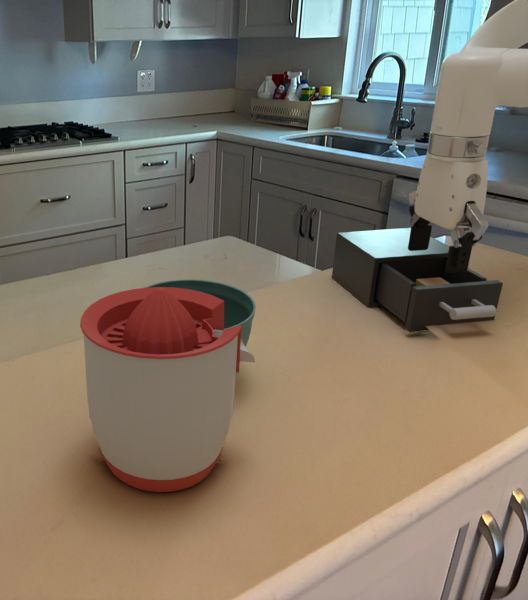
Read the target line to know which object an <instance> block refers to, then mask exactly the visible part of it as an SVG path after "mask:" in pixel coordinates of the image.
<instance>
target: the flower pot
mask: <svg viewBox="0 0 528 600" xmlns="http://www.w3.org/2000/svg"><path fill="white" fill-rule="evenodd" d="M148 287H173V288H183V289H190V290H195V291H200V292H203V293H207V294H210V295H213V296H215V297H217V298H219V299H221V300H223V301H224V330H225V329H227V328H231V327H235V326H238V325H241V327H242V328H241V339H242V341H243V343H244V345H245V347H246V348H247V345H248V343H249V340H250V336H251V332H252V328H253V327H252V326H253V321H254V317H255V313H256V309H257V304H256V302H255V300H254V299H253V297H252V296H251V295H250V294H248V293H247V292H245V291H244V290H243V289H241V288H239V287H236V286H233V285H231V284H227V283H223V282H220V281H213V280H209V279H208V280H207V279H197V278H195V279H193V278H192V279H191V278H188V279H185V278H183V279H172V280H171V279H170V280H164V281H160V282H155V283H152V284H149V285H146V286H144V287H143V288H148Z"/></svg>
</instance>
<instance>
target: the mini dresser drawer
mask: <svg viewBox="0 0 528 600" xmlns="http://www.w3.org/2000/svg"><path fill="white" fill-rule="evenodd" d="M446 262H447V258H434V259H420V260H407V261H393V262H380V263H379V267H378V273H377V280H376V287H375V293H374V299H376V300H377V301H378V302H379V303H381V304H382V305H383V306H382V307H385V309H387V310H388V311H389V312H390V313H392V315H394V316H396V317H397V318H398V319H399V320H401V321H402V322H403V323H404V324H405V325H404V326H405V328H404V330H406V331H407V332H409V333H414V332H427V331H430V329H429V328H428V327H432V326H443V325H445V326H446V325H455V324H456V325H457V324H467V323H477V322H478V323H480V322H489V321H495V318H496V314H497V309H498V306H499V302H500V297H501V293H502V289H503V285H504V283H503V282H502V281H501V280H498V279H495V280H488V278H487V277H485V276H484V275H482V274H480V273H478V272H476V271H474V270H473V269H471V268H469V267H468V269H467V271H465V272H453V273H448V272H446V271H445V267H446ZM439 277H440V278H442V279H444V280H445V281H447V282H449V283H450V284H442V285H429V286H417V287H416V279H426V278H439Z"/></svg>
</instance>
